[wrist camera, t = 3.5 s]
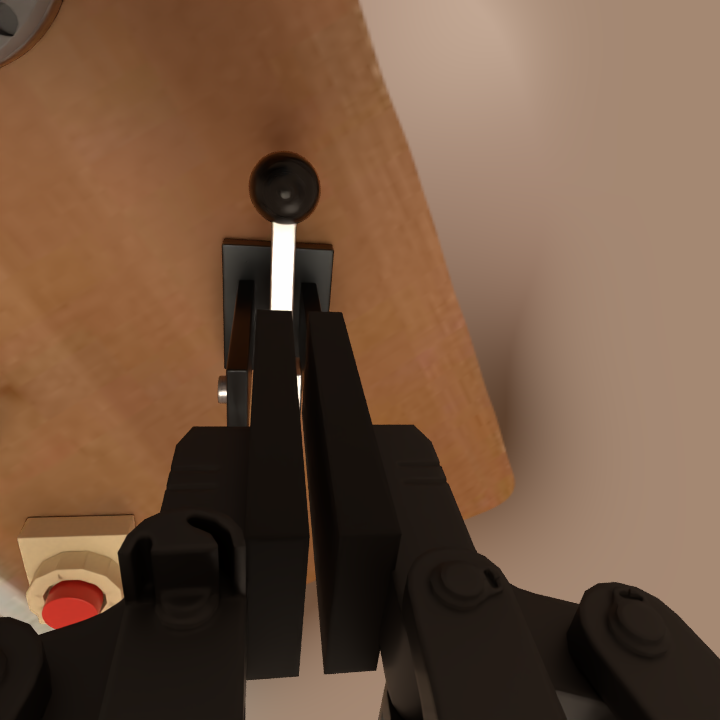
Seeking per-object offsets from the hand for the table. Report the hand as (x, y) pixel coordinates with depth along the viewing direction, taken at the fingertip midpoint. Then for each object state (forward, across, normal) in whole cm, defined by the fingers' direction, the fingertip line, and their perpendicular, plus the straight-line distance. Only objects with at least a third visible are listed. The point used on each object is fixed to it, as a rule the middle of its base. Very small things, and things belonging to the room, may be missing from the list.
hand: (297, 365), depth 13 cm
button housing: (+24, -15, -33) cm, 44 cm away
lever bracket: (+24, 0, -9) cm, 26 cm away
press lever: (+16, 0, -4) cm, 16 cm away
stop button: (+21, -15, -33) cm, 42 cm away
